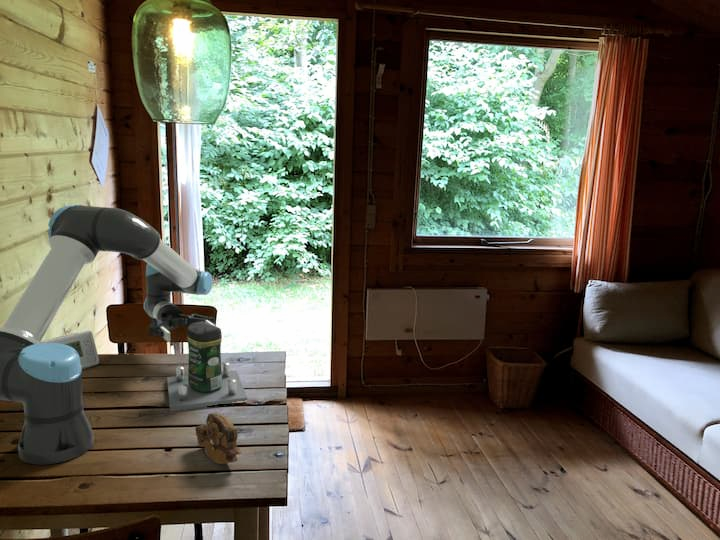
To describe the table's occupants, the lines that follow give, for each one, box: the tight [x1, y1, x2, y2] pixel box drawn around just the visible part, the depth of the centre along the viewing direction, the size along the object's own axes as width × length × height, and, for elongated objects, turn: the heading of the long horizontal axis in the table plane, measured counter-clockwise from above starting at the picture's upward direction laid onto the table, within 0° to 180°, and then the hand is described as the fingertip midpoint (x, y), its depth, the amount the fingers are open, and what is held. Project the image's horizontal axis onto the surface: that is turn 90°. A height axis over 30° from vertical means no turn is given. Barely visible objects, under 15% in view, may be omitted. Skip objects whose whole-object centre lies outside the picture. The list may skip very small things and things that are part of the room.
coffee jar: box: [186, 321, 223, 393], centre depth 160 cm, size 10×8×19 cm
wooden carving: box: [194, 412, 242, 465], centre depth 127 cm, size 16×5×10 cm, turn 48°
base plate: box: [166, 361, 248, 412], centre depth 161 cm, size 20×20×6 cm
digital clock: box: [40, 330, 100, 371], centre depth 173 cm, size 16×9×11 cm, turn 131°
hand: (192, 333), depth 167 cm, fingers open, 13 cm apart
